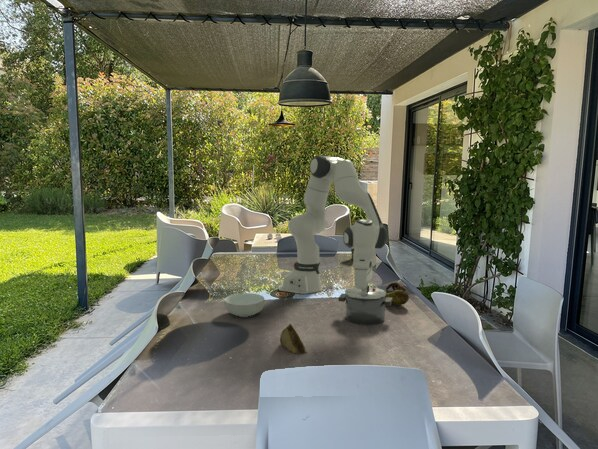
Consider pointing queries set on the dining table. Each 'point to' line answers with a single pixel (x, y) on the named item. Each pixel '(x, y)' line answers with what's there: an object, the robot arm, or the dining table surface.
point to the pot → (365, 309)
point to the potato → (398, 297)
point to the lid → (371, 293)
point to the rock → (291, 340)
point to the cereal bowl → (244, 304)
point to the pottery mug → (394, 287)
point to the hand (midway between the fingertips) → (364, 293)
